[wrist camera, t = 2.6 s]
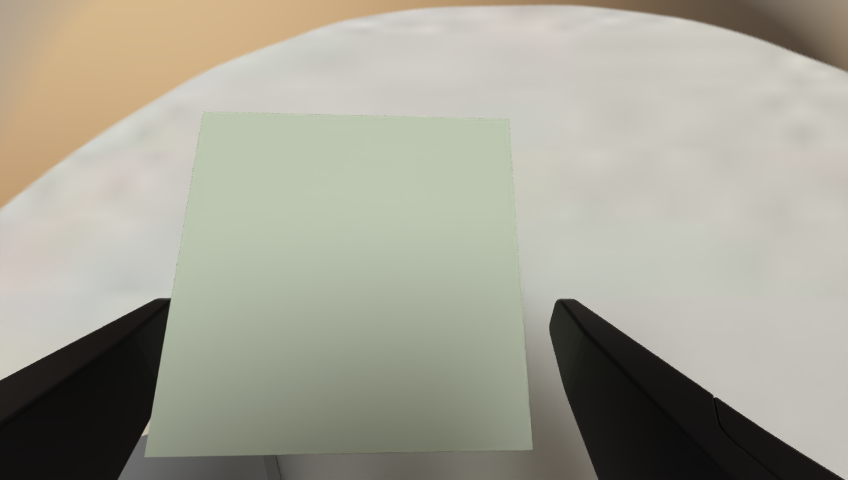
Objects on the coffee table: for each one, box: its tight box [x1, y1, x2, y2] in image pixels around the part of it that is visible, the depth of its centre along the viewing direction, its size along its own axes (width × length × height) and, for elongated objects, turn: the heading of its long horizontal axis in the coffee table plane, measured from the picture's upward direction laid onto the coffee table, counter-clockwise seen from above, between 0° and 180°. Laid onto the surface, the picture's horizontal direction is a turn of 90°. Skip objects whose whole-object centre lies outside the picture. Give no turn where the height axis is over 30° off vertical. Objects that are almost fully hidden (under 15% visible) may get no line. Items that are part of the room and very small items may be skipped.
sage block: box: [144, 112, 533, 457], centre depth 11 cm, size 5×5×12 cm
